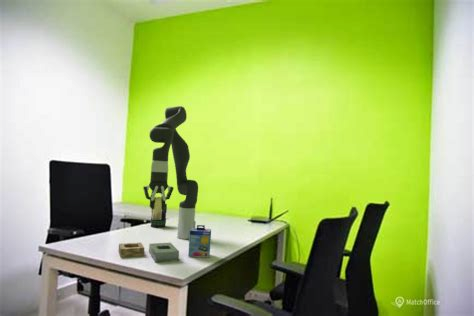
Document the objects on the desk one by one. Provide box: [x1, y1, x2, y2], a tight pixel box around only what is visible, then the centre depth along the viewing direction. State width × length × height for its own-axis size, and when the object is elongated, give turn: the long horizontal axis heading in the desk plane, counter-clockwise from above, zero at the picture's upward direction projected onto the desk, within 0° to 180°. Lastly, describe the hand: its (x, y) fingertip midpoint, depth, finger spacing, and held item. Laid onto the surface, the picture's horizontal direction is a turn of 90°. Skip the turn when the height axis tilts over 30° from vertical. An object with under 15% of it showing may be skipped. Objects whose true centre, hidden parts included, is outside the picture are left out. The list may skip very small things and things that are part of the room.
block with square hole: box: [148, 242, 180, 263], centre depth 142 cm, size 10×16×4 cm, turn 25°
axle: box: [151, 196, 162, 220], centre depth 143 cm, size 4×4×10 cm
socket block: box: [118, 242, 145, 258], centre depth 144 cm, size 10×10×4 cm
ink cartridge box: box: [187, 224, 212, 259], centre depth 146 cm, size 10×6×14 cm, turn 95°
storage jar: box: [150, 203, 168, 229], centre depth 208 cm, size 10×10×15 cm
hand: (157, 208), depth 143 cm, fingers closed on axle, 4 cm apart
